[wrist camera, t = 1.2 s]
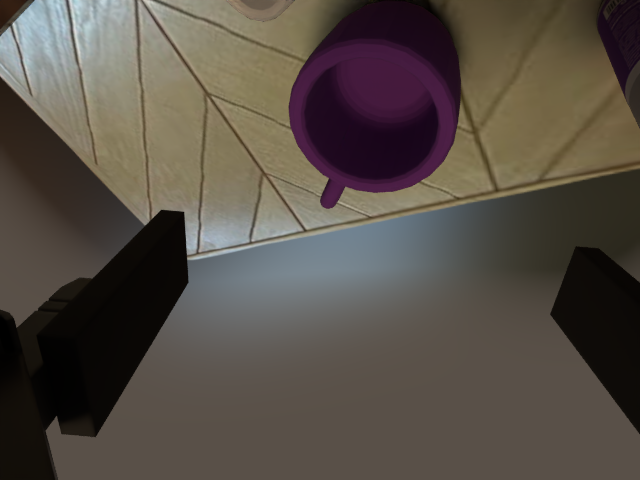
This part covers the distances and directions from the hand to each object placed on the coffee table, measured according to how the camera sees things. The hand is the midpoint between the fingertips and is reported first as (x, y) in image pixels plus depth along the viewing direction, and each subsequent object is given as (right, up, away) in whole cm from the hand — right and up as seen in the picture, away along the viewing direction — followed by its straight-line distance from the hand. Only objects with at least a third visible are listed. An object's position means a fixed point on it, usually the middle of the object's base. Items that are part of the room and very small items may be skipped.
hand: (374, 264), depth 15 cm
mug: (+3, +14, +23) cm, 27 cm away
